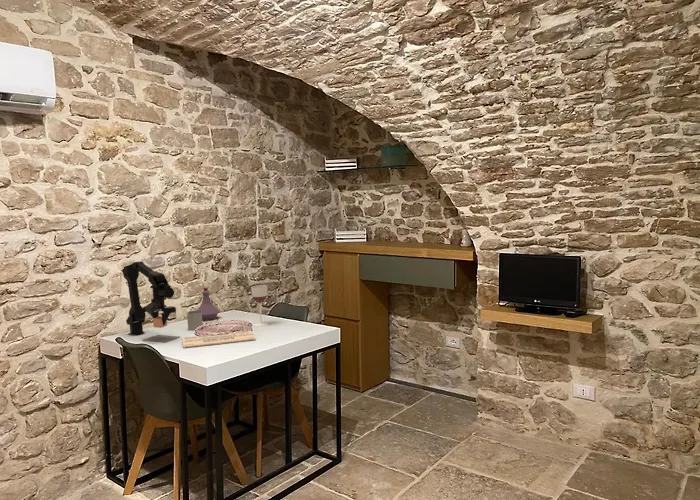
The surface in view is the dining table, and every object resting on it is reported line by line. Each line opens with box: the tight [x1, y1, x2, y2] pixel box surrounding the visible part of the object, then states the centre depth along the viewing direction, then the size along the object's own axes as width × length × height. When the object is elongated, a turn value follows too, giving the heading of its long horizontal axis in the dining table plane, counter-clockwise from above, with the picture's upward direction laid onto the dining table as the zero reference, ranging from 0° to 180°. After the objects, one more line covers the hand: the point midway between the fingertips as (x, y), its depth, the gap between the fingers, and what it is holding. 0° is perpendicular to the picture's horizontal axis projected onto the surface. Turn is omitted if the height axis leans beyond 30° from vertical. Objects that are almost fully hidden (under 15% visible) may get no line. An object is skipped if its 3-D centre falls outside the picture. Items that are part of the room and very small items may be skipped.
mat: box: [142, 334, 180, 343], centre depth 305 cm, size 16×12×1 cm
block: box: [152, 315, 168, 329], centre depth 304 cm, size 5×5×5 cm
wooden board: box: [181, 330, 256, 349], centre depth 296 cm, size 37×19×3 cm, turn 109°
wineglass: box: [250, 284, 269, 327], centre depth 331 cm, size 9×10×23 cm
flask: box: [196, 287, 221, 321], centre depth 352 cm, size 16×16×20 cm
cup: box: [186, 310, 204, 331], centre depth 326 cm, size 8×8×10 cm
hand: (160, 324), depth 304 cm, fingers closed on block, 5 cm apart
